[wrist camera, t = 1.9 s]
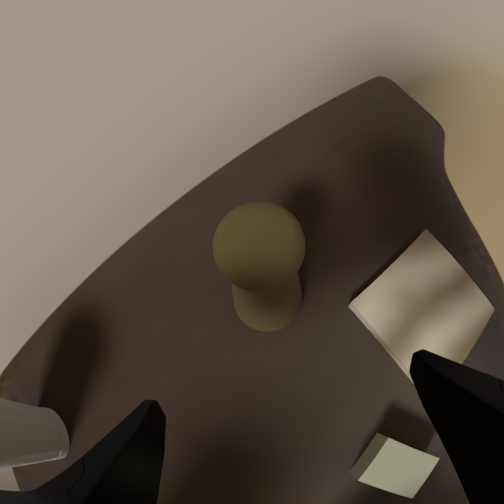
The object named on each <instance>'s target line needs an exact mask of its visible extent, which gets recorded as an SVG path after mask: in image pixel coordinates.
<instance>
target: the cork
mask: <svg viewBox="0 0 504 504" xmlns="http://www.w3.org/2000/svg"><path fill="white" fill-rule="evenodd" d="M305 243H306V240H305V237H304V234H303V231H302V228H301V225H300V223H299V222H298V221H297V219H296V218H295V217H294V215H293V214H292V213H290V212H289V211H287V210H286V209H284V208H283V207H281V206H280V205H277V204H274V203H271V202H265V201H254V202H249V203H244V204H242V205H240V206H238V207H236V208H234V209H232V210H231V211H230V212H229V213H228V214H227V215H225V216H224V218H223V219H222V220H221V222H220V224H219V225H218V227H217V228H216V230H215V234H214V238H213V253H214V260H215V262H216V264H217V266H218V268H219V270H220V271H221V273H222V275H223V276H224V277H225V278H226V279H227V280H229V281H230V282H231V284H232V292H233V300H234V306H235V311H236V312H237V314H238V316H239V318H240V319H241V320H242V321H243V322H244V323H245V324H246V325H247V326H249V327H251V328H253V329H255V330H257V331H265V332H271V331H276V330H280V329H282V328H284V327H286V326H288V325H289V324H291V322H292V321H293V320H294V319H295V318H296V317H297V316H298V314H299V311H300V309H301V307H302V297H303V295H302V290H301V286H300V281H299V276H298V271H299V269H300V266H301V264H302V262H303V260H304V255H305Z"/></svg>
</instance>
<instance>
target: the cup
mask: <svg viewBox="0 0 504 504" xmlns="http://www.w3.org/2000/svg"><path fill="white" fill-rule="evenodd" d="M68 451H69V436H68V432H67V429H66V427H65V425H64V423H63V421H62V419H61V418H60V417H59V415H58V414H57V413H56V412H55V411H53V410H52V409H50V408H45V407H34V406H30V405H25V404H21V403H17V402H13V401H9V400H6V399H2V398H0V469H4V468H9V467H16V466H23V465H29V464H34V463H40V462H45V461H49V460H56V459H62V458H64V457H66V455H67V454H68Z"/></svg>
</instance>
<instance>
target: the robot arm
mask: <svg viewBox="0 0 504 504" xmlns="http://www.w3.org/2000/svg"><path fill="white" fill-rule="evenodd" d="M409 372H410V376H411V378H412V381H413V383H414V385H415V388H416V390H417V392H418V395H419V397H420V400H421V402H422V405H423V407H424V409H425V411H426V413H427V414H428V416H429V418H430V420H431V422H432V424H433V426H434V428H435V429H436V431H437V433H438V435H439V437H440V439H441V441H442V443H443V445H444V447H445V449H446V451H447V453H448V455H449V457H450V459H451V461H452V464H453V466H454V468H455V470H456V472H457V474H458V477H459V479H460V481H461V483H462V486H463V488H464V491H465V493H466V495H467V498H468V500H469V503H470V504H504V380H502V379H498V378H496V377H494V376H491V375H488V374H486V373H483V372H480V371H478V370H475V369H473V368H470V367H467V366H465V365H462V364H460V363H457V362H455V361H452V360H450V359H447V358H445V357H442V356H440V355H437V354H435V353H432V352H430V351H427V350H425V349H421V350H419V351H416V352H414V353H413V355H412V359H411V364H410V369H409ZM165 427H166V417H165V414H164V412H163V411H162V409H161V407H160V405H159V404H158V402H157V401H156V400H145V401H143V402H142V403H141V404H140V405H139V406H138V407H137V408H136V409H135V410H133V411H132V412H131V413H130V414H129V415H128V416H127V417H126V418H125V419H124V420H123V421H121V422H120V423H119V424H118V425H117V426H116V427H115V428H114V429H113V430H111V431H110V432H109V433H108V434H107V435H106V436H105V437H104V438H102V439H101V440H100V441H99V442H98V443H97V444H96V445H95V446H93V447H92V448H91V449H90V450H89V451H88V452H86V453H85V454H84V455H83V456H82V457H81V458H79V459H78V460H77V461H76V462H75V463H73V464H72V465H71V466H70V467H68V468H67V469H66V470H64V471H63V472H61V473H60V474H59V475H57V476H56V477H54V478H53V479H51V480H49V481H48V482H46V483H45V484H43V485H42V486H40V487H38V488H36V489H34V490H31V491H5V490H0V504H157V499H158V492H159V485H160V478H161V472H162V465H163V459H164V448H165Z"/></svg>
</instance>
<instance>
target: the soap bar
mask: <svg viewBox="0 0 504 504" xmlns="http://www.w3.org/2000/svg"><path fill="white" fill-rule="evenodd" d="M439 459H440V458H437V457H435V456H432V455H429V454H427V453H424V452H422V451H419V450H417V449H414V448H412V447H409V446H407V445H405V444H402V443H400V442H398V441H395V440H393V439H391V438H389V437H386V436H384V435H382V434H379V433H376V435H375V436H374V438H373V439H372V441H371V442H370V444H369V445H368V447H367V448H366V450H365V451H364V452H363V454H362V455H361V457H360V458H359V459H358V461H357V462H356V463H355V465H354V466H353V467H352V469H351V470H350V472H351V473H352V474H353V475H354V476H355V478H356V479H357V480H358V481H361V482H363V483H366V484H369V485H371V486H374V487H377V488H380V489H383V490H385V491H388V492H392V493H395V494H398V495H401V496H405V497H408V498H413V497H414V496H415V494H416V493H417V492H418V490H419V489H420V487H421V486H422V485H423V483H424V482H425V480H426V479H427V477H428V476H429V475H430V473H431V471H432V470H433V468H434V467H435V465H436V464H437V462H438V460H439Z"/></svg>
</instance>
